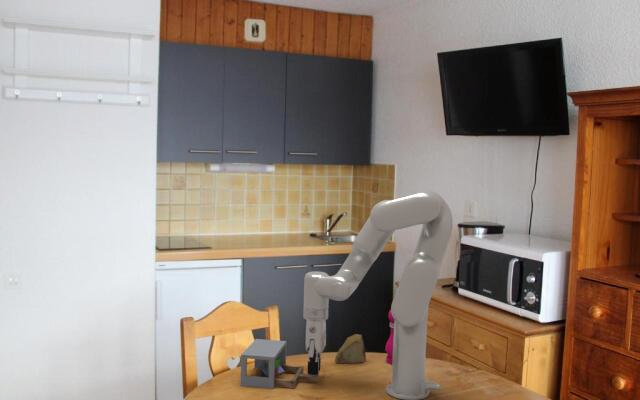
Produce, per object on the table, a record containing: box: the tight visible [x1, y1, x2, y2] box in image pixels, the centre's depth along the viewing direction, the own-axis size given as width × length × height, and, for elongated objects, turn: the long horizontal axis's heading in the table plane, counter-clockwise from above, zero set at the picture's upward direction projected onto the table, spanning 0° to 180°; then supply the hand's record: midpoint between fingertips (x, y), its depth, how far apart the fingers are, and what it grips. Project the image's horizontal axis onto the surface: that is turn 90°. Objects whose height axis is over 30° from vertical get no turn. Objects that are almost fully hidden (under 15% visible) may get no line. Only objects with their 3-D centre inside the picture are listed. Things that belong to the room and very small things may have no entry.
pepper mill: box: [384, 309, 395, 365], centre depth 227 cm, size 7×7×20 cm
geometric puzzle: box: [259, 359, 286, 379], centre depth 207 cm, size 7×7×8 cm
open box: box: [240, 338, 287, 390], centre depth 208 cm, size 10×17×10 cm, turn 171°
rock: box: [334, 333, 367, 364], centre depth 227 cm, size 11×9×10 cm
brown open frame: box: [255, 357, 320, 389], centre depth 207 cm, size 18×14×7 cm
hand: (313, 371), depth 206 cm, fingers closed on brown open frame, 3 cm apart
